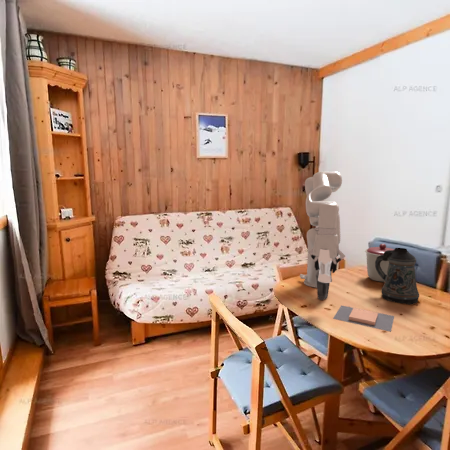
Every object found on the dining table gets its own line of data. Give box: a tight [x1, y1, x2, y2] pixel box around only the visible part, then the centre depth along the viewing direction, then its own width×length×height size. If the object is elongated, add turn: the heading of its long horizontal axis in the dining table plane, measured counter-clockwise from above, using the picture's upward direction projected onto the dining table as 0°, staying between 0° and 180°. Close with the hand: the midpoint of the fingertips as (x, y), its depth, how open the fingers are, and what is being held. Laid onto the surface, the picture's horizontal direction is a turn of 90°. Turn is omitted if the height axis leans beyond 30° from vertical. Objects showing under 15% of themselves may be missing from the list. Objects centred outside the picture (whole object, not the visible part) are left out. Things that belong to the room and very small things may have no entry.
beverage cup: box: [316, 270, 330, 301], centre depth 157 cm, size 7×7×20 cm
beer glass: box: [318, 249, 333, 283], centre depth 142 cm, size 7×7×15 cm
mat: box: [332, 305, 395, 333], centre depth 137 cm, size 22×16×1 cm
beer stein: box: [375, 247, 420, 306], centre depth 157 cm, size 16×19×25 cm
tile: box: [349, 307, 379, 325], centre depth 136 cm, size 10×2×10 cm
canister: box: [364, 243, 395, 283], centre depth 185 cm, size 18×18×21 cm
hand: (325, 270), depth 143 cm, fingers closed on beer glass, 6 cm apart
